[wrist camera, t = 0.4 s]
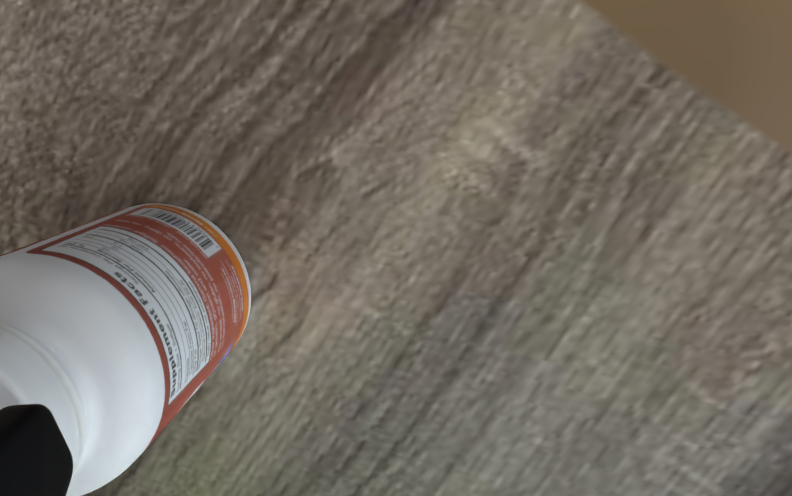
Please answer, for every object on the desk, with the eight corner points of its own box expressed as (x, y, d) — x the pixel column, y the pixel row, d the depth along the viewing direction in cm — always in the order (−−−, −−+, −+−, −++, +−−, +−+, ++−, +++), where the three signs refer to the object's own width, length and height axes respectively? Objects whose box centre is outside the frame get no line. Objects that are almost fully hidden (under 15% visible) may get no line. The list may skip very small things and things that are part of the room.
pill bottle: (112, 379, 26) (-151, 599, 15) (64, 215, 24) (-263, 326, 13) (274, 357, 25) (119, 575, 14) (234, 185, 23) (28, 280, 13)
